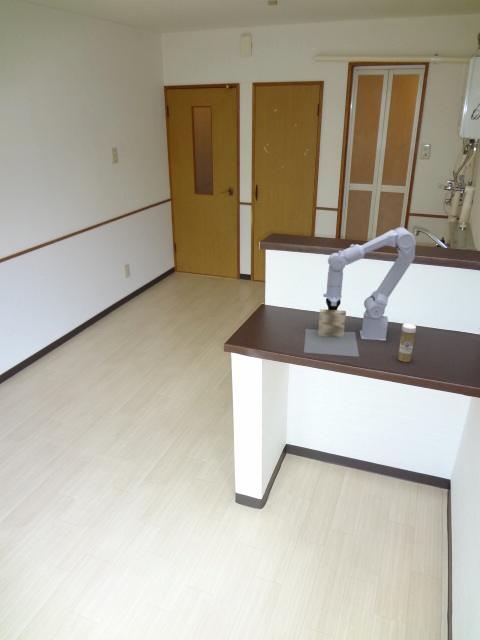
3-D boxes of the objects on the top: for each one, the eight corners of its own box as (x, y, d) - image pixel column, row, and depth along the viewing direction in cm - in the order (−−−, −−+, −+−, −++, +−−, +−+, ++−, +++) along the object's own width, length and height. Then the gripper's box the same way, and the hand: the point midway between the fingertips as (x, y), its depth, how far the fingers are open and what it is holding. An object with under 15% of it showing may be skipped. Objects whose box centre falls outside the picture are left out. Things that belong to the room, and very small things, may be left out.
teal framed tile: (343, 334, 184) (345, 310, 178) (343, 337, 182) (345, 313, 177) (317, 333, 185) (319, 309, 180) (317, 335, 183) (319, 311, 178)
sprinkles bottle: (399, 362, 163) (405, 328, 158) (395, 356, 167) (400, 323, 162) (412, 362, 163) (418, 328, 158) (408, 356, 167) (413, 323, 162)
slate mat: (354, 333, 187) (355, 332, 187) (359, 357, 167) (359, 356, 167) (305, 329, 190) (305, 329, 190) (303, 353, 170) (303, 352, 170)
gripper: (324, 278, 184) (321, 309, 189) (324, 289, 171) (321, 323, 176) (341, 279, 183) (339, 310, 188) (343, 290, 170) (340, 324, 175)
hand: (331, 316), depth 182 cm, fingers closed
